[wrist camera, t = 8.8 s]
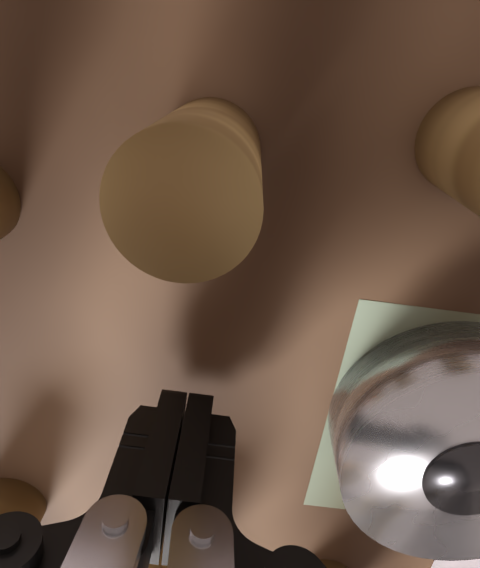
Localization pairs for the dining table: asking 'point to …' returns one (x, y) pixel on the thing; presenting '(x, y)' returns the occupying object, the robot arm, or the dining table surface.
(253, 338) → the board
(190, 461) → the robot arm
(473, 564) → the dining table surface
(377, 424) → the pot lid
